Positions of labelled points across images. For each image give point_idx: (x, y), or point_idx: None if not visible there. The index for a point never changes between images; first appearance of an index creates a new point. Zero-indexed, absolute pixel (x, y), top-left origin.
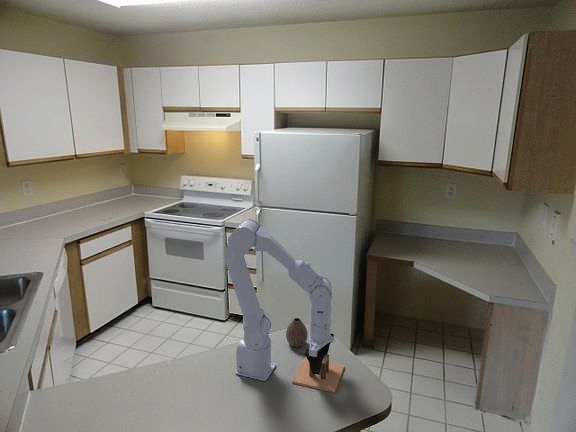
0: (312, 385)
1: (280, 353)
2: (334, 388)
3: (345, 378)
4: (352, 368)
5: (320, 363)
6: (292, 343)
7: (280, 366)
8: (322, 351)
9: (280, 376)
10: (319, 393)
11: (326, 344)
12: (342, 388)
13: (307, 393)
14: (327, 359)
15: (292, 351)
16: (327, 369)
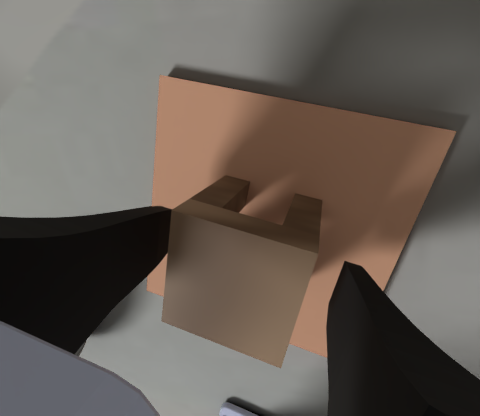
0: (388, 274)
1: (142, 371)
2: (425, 135)
3: (277, 60)
4: (165, 16)
5: (446, 360)
6: (80, 349)
7: (226, 383)
8: (135, 256)
9: (298, 393)
10: (448, 230)
11: (77, 264)
12: (394, 75)
13: (444, 295)
14: (237, 225)
15: (116, 328)
16: (244, 189)
